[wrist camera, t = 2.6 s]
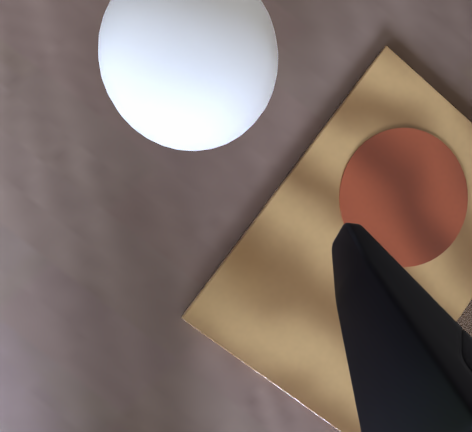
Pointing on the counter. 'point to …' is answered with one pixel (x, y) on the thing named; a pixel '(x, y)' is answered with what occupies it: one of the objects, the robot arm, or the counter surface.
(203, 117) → the lightbulb
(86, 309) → the counter surface
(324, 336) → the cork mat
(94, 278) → the counter surface
